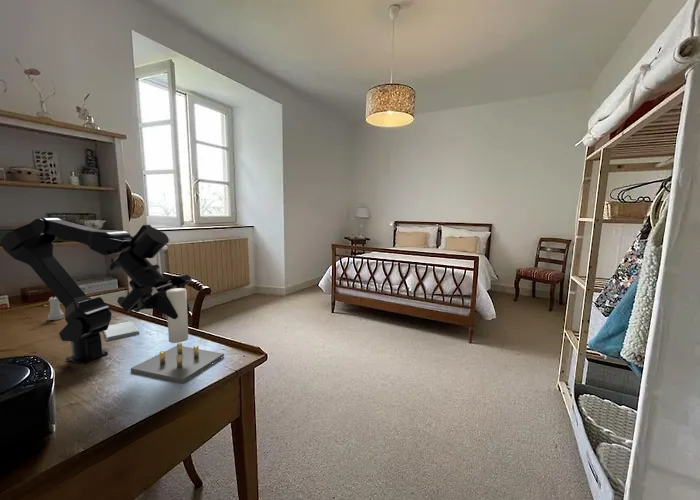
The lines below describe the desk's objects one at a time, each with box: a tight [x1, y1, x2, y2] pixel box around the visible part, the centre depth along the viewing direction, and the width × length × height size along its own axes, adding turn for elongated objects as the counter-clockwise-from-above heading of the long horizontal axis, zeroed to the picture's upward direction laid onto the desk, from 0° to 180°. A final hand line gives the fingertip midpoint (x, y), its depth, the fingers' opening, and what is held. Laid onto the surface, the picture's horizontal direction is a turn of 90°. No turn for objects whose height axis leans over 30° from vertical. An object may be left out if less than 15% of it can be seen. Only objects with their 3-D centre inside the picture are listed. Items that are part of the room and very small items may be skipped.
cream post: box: [166, 287, 189, 344], centre depth 78 cm, size 4×4×13 cm
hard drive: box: [102, 321, 140, 342], centre depth 100 cm, size 2×8×12 cm
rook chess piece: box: [47, 295, 65, 321], centre depth 109 cm, size 4×4×8 cm
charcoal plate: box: [130, 342, 225, 384], centre depth 79 cm, size 16×14×4 cm
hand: (182, 315), depth 78 cm, fingers closed on cream post, 4 cm apart
